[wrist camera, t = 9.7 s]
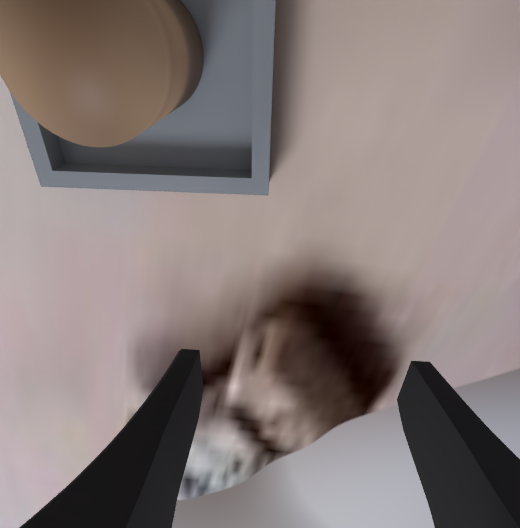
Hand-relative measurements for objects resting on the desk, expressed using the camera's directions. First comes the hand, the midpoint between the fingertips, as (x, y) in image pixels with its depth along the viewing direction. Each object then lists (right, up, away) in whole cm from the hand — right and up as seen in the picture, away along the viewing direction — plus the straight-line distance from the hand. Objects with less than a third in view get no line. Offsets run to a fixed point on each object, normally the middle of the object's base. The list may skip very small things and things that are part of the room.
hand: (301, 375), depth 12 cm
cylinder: (-6, +13, +3) cm, 14 cm away
